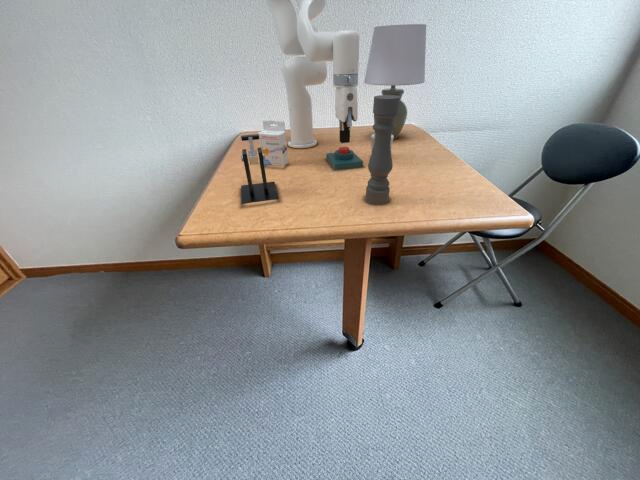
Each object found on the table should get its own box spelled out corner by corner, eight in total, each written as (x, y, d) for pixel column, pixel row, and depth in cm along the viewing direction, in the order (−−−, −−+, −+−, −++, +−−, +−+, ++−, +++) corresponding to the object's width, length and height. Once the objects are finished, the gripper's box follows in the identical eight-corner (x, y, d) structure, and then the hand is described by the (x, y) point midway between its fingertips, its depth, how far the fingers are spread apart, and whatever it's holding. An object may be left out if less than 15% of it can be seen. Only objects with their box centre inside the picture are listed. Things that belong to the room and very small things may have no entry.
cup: (391, 164, 96) (394, 141, 92) (368, 163, 98) (370, 140, 93) (391, 154, 105) (393, 132, 100) (369, 153, 106) (371, 132, 102)
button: (337, 152, 98) (337, 147, 97) (347, 151, 99) (347, 146, 98) (340, 155, 95) (340, 150, 94) (350, 154, 96) (350, 149, 95)
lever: (242, 140, 80) (240, 133, 78) (259, 139, 81) (258, 131, 79) (244, 165, 73) (243, 157, 71) (263, 163, 73) (262, 155, 72)
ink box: (261, 167, 98) (255, 123, 90) (268, 162, 102) (262, 120, 93) (283, 169, 96) (278, 124, 87) (289, 164, 100) (285, 120, 91)
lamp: (375, 128, 139) (383, 28, 116) (422, 134, 127) (442, 24, 104) (351, 140, 123) (355, 27, 100) (402, 148, 111) (420, 22, 88)
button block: (326, 159, 103) (326, 148, 101) (351, 156, 105) (352, 145, 102) (335, 170, 93) (335, 158, 91) (362, 167, 95) (363, 155, 93)
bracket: (241, 189, 83) (232, 146, 76) (274, 185, 85) (269, 142, 78) (242, 207, 74) (231, 160, 66) (279, 202, 75) (273, 155, 68)
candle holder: (363, 195, 77) (369, 95, 63) (384, 193, 78) (396, 94, 63) (368, 205, 72) (376, 99, 58) (391, 203, 73) (405, 98, 58)
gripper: (366, 82, 79) (362, 147, 89) (349, 78, 91) (348, 136, 101) (340, 83, 78) (340, 149, 88) (327, 79, 90) (328, 138, 100)
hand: (344, 142), depth 95 cm, fingers closed
